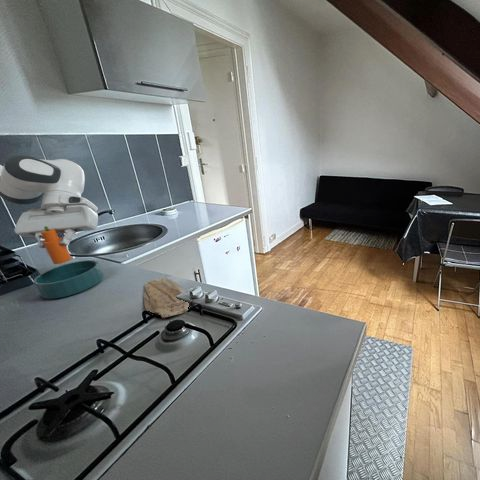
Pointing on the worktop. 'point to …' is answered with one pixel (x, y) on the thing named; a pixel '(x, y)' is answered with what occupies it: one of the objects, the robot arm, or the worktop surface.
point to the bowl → (68, 279)
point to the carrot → (55, 246)
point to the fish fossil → (164, 298)
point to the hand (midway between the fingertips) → (53, 245)
